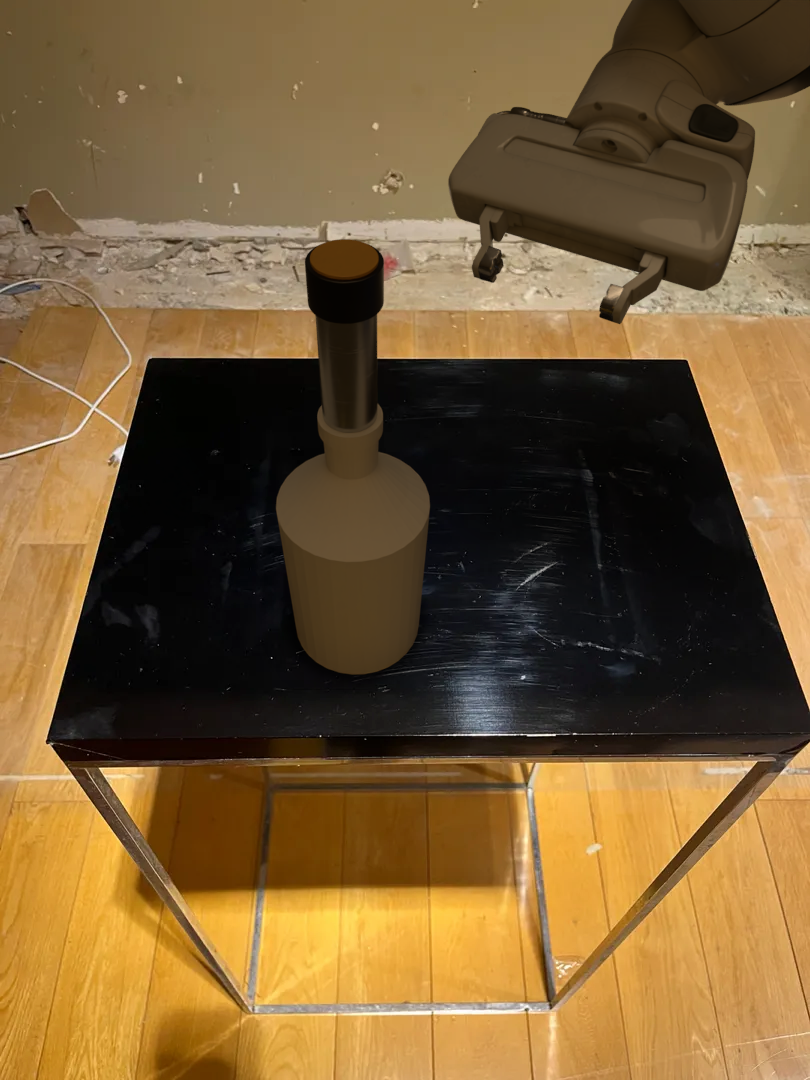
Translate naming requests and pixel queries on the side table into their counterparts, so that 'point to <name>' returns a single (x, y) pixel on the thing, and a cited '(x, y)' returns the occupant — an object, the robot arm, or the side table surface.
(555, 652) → the side table surface
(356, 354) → the torch
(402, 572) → the bottle
